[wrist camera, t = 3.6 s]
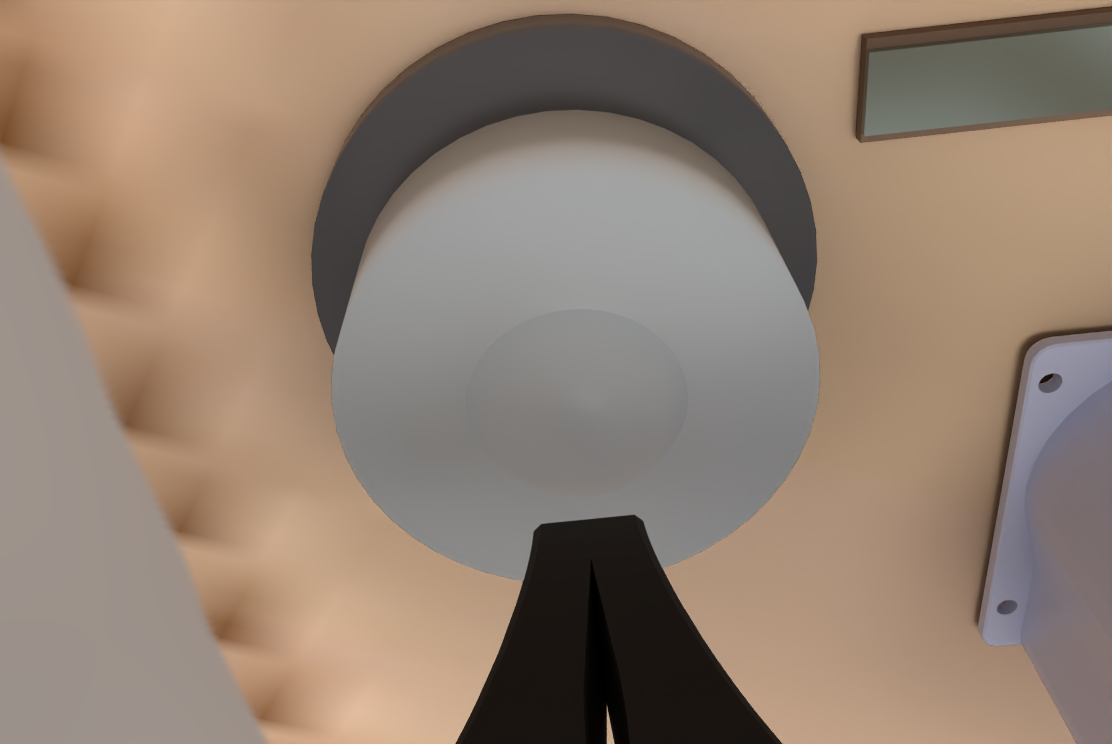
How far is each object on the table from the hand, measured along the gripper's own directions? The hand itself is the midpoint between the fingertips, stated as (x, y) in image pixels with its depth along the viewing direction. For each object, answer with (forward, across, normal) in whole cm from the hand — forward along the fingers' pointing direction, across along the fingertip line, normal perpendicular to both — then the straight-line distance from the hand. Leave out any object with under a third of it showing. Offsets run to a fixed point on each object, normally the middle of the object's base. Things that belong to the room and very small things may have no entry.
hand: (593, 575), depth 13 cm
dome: (+7, 0, 0) cm, 7 cm away
